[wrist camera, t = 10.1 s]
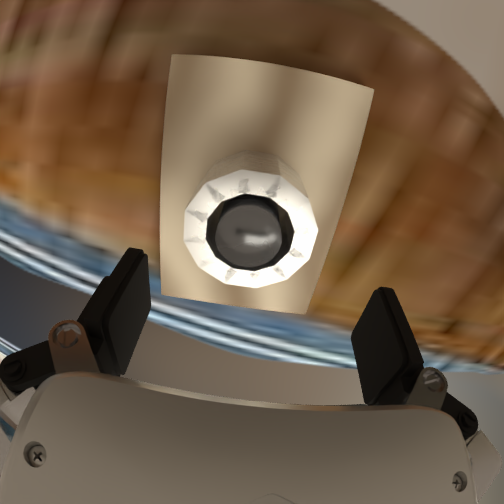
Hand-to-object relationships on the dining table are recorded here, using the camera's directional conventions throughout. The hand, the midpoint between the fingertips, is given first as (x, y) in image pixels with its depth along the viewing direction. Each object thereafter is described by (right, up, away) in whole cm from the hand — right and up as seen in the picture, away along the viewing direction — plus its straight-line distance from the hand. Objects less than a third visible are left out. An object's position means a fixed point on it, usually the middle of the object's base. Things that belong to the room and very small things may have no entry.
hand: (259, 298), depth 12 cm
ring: (0, +5, +7) cm, 9 cm away
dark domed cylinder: (0, +5, +7) cm, 9 cm away
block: (0, +6, +9) cm, 10 cm away
